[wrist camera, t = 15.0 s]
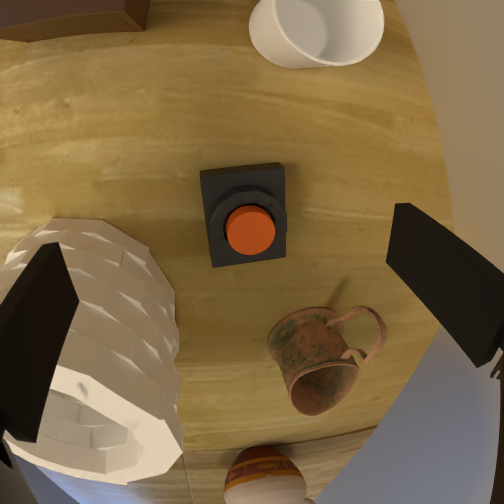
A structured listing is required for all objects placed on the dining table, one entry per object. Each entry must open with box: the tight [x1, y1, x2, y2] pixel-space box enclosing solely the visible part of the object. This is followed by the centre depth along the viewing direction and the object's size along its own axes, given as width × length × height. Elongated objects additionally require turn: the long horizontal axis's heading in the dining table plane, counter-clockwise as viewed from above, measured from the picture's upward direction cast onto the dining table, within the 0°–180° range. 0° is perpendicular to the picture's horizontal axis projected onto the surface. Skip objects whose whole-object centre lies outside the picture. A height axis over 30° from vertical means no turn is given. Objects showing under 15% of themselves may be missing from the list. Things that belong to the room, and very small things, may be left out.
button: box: [226, 205, 275, 255], centre depth 30 cm, size 4×4×2 cm
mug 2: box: [267, 306, 387, 416], centre depth 39 cm, size 12×18×12 cm, turn 158°
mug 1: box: [249, 0, 384, 69], centre depth 20 cm, size 12×8×10 cm
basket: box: [0, 218, 183, 485], centre depth 28 cm, size 25×24×19 cm
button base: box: [200, 162, 287, 268], centre depth 32 cm, size 10×8×4 cm
